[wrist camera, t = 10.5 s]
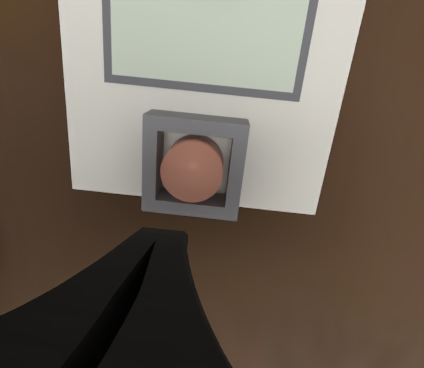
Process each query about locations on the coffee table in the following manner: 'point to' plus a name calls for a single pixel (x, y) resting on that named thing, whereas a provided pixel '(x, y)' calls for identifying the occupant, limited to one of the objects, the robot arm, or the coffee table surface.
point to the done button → (192, 168)
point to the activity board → (207, 95)
